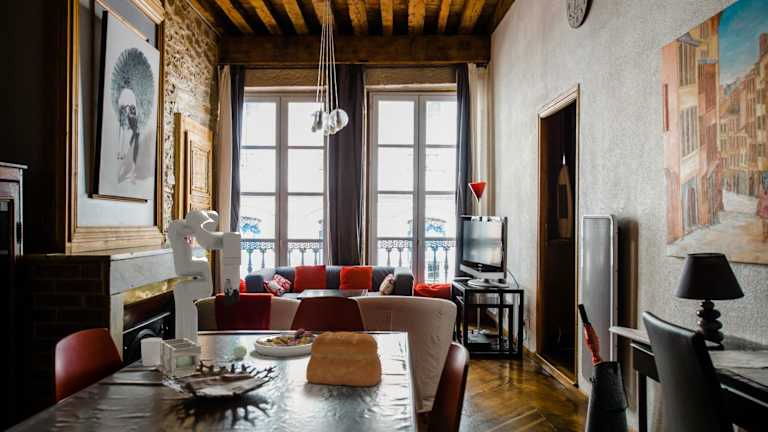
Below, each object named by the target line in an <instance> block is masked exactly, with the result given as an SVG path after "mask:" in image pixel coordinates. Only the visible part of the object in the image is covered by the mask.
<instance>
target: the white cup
mask: <svg viewBox="0 0 768 432" xmlns="http://www.w3.org/2000/svg"><path fill="white" fill-rule="evenodd" d="M160 341H163V338H162V337H148V338H143V339H141V340H140V343H141V344H140V345H141V346H140V348H141V361H142V363H141V364H142V366H144V367H153V366H156V364H160Z"/></svg>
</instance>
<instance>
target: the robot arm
mask: <svg viewBox="0 0 768 432" xmlns="http://www.w3.org/2000/svg"><path fill="white" fill-rule="evenodd" d="M219 217H220V216H219V214H218V213H217V212H216V211H214V210H212V209H209V210H208V209H193V210H190V211H188V212H187V213H186V215H185V218H184V219H183V218H181V219H179V218H178V219H174V220H172V221H170V222H169V223H168V226H167V237H168V238H167V239H168V241H169V244H170V246H171V249H172V258H173V265H174V272H175V276H176V277H179V278H195V277H197V278H195V279H183V280H180V281H177V282H176V283H175V284H174V286H173V296H174V302H175V339H180V338H186V339H188V340H190V341H192V342H194V343H196V344H197V345H199V346H201V347H202V344H201V343H198V317H199V316H198V315H199V314H198V307H197V306H196V304H195V303H194V301H196V300H203V299H204V300H205V299H209V298H210V297H211V296H212V294H213V289H214V288H213V278H212V271H211V264H210V261H209V260H208V258H207V257H204V256H194V255H193V248H192V245H191V243H189V242H188V240H187V239H186V238H195V241H196V243H197V245H199V246H200V247H201V248H203V249H205V250H207V251H208V250H209V251H215V250H222V253H221V254H222V258H221V260H222V261H221V262H222V274H221V278H222V279H221V290H222V291H223V305H224V306H232V305H233V303H240V286H241V272H240V266H242V234H241V232H238V231H216V230H217V227H218V226H219V222H220V218H219Z"/></svg>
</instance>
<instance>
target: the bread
mask: <svg viewBox="0 0 768 432" xmlns="http://www.w3.org/2000/svg"><path fill="white" fill-rule="evenodd" d="M317 336H318V337H317V338H316V339H315V340H314V341H313V343H312V347H311V353H310V354H311V355H310V358H309V360H308V362H307V366H306V373H305V374H306V375H305V376H306V381H307V382H309V383H312V384H318V385H319V384H324V385H332V386H343V385H346V386H350V387H373V386H375V385H377V384H379V382H380V381H381V380H382V376H383V375H382V373H383V369H382V362H381V358H380V357H379V355H378V354H379V353H378V348H379V347H378V346H379V345H378V342H377V340H376V338H374V337H373V335H371V334H369V333H367V332H363V333H358V332H353V331H350V332H349V331H337V332H332V331H326V332H323V333H321V334H319V335H317Z"/></svg>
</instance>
